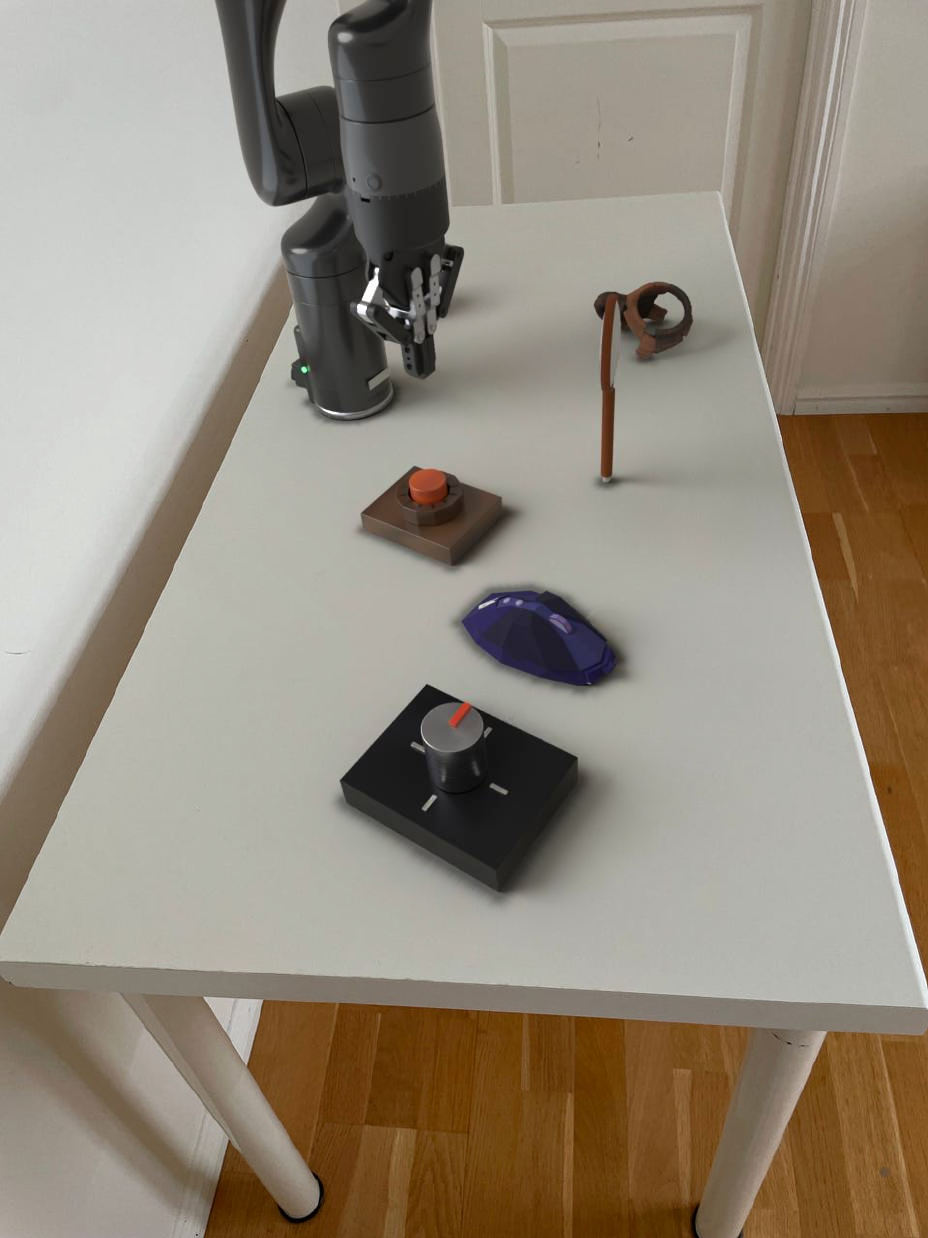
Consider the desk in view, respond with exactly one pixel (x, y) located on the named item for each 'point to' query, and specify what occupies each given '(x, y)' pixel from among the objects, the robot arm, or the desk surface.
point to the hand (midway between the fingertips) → (421, 373)
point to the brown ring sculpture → (649, 316)
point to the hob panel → (469, 821)
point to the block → (433, 518)
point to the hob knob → (455, 747)
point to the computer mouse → (540, 637)
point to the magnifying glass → (609, 380)
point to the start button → (428, 486)
